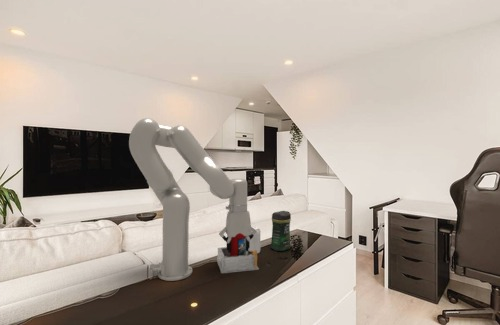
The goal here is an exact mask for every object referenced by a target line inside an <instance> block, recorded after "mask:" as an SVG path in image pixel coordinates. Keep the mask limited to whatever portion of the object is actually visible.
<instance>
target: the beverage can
mask: <svg viewBox="0 0 500 325" xmlns="http://www.w3.org/2000/svg"><path fill="white" fill-rule="evenodd" d="M230 243H231V252H230V256H237V255H246V236H244V235H243V234H241V233H239V234H237V235H236V236H235V237H232V238H231V240H230Z"/></svg>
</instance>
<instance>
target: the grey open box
mask: <svg viewBox="0 0 500 325" xmlns="http://www.w3.org/2000/svg"><path fill="white" fill-rule="evenodd" d="M216 262H217V263H216V264H217V265H218V268H219V271H220V274H229V273H240V272H249V271H258V270H259V269H260V268H259V266H258V253H257V250H252V252H251V253H249V251H246V255H237V256H230V253H229V252H228V250H227V246H224V247H217V258H216Z"/></svg>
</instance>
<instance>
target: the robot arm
mask: <svg viewBox="0 0 500 325" xmlns="http://www.w3.org/2000/svg"><path fill="white" fill-rule="evenodd" d="M128 138H129V140H128V148H129V151H130V154H131V156H132V158H133V160H134V162H135V164H136V165H137V167H138V168H139V170H140V172H141V173H142V175H143V176H144V178H145V180H146V183H147V185H148V187H149V188H150V189H151V190H152V191H153V192H154V195H155V196H156V197H157V198H158V201H159V202H160V203H161V205H162V259H161V262H159V263H154V264H153V263H152V264H151V263H150V264H149V270H150V271H151V270H152V272H154V273H155V272H157V277H158V278H159V279H161V280H163V281H166V282H173V281H180V280H184V279H187V278H189V277H190V276H191V275H192V274H193V268H192V266H190V265H189V242H190V241H189V240H190V239H189V236H190V235H189V228H190V227H189V222H190V211H191V210H190V209H191V204H190V199H189V198H188V195H187V194H185V193H184V192H183V190H182V189H181V187H180V186H179V184H178V182H177V180H176V179H175V177H174V174H173V171H171V170H170V169H169V167H168V166H167V165H166V163H165V162H164V159H162V157H161V155H160V153H159V152H158V150H157V147H156V146H158V147H165V148H171V149H175V150H176V152H177V153H178V154H179V155H180V156H181V158H182V159H183V160H184V161H185V163H186V164H187V165H188V167H190V168H191V170H192V171H194V173H196V174H198V175H199V176H200V177H201V178H202V179H203V180H204V181H205V183H207V185H209V191H210V193H211V194H212V195H213V196H215V197H217V198H219V199H221V200H227V199H228V201H229V202H228V205H227V206H225V210H228V211H227V212H226V214H227V215H226V220H225V227H223V228H222V230H220V231H219V232H218V235H219V236H220V237H221V238H222V240H224V241H225V242H226V247H227V250H228V252H229V253H230V252H231V243H230V240H231V238H232V237H235V236H236V235H237V234H239V233H241V234H243V235H244V236H246V251H248V248H250V240H251V239H252V238H253V237H254V235H255V234H256V233H257V231H256V230H255V229H254V228H252V227H251V225H252V224H251V222H252V221H251V215H250V211H248V181H247V179H245V178H231V179H230V178H229V177H228V176H227V174H226V173H225V172H224V170H223V169H222V168H221V167H220V166H219V165H218V164H217V163H216V161H215V160H214V159H213V158H212V157H211V156H210V155H209V154H208V153H207V152H206V150H205V148H204V147H203V146H202V145H201V144H200V142H199V141H198V140H197V139H196V137H195V136H194V135H193V133H192V132H191V131H190V130H189V129H188V128H187V127H186V126H184V125H175V126H173V127H172V126H166V125H162V124H158V122H157V121H155V120H154V119H152V118H149V117H148V118H142V119H140V120H139V121H137V122H136V124H135V125H134V126H133V128H132V129H131V131H130V134H129V137H128ZM251 231H252V233H251ZM225 234H226V235H225ZM248 252H249V251H248Z"/></svg>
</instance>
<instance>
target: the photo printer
mask: <svg viewBox="0 0 500 325" xmlns="http://www.w3.org/2000/svg"><path fill="white" fill-rule="evenodd" d="M251 227H252V228H254V229H255V230H256V231H257V233H256V234H255V235H254V237H253V238H252V239H251V240H250V248H248V252H250V253H252V250H257V254H259V253H260V252H261V230H260V228H259V227H258V226H256V225H254V224H251ZM251 233H252V231H251Z"/></svg>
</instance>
